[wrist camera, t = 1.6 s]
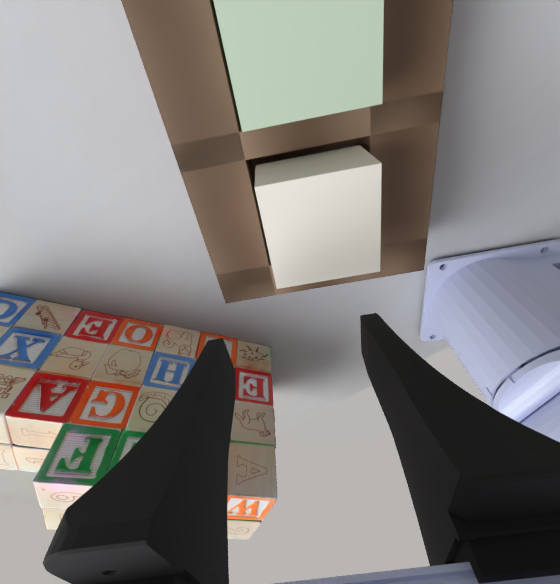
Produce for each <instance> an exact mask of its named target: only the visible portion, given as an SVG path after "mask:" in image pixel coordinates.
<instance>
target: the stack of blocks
mask: <svg viewBox="0 0 560 584" xmlns="http://www.w3.org/2000/svg"><path fill="white" fill-rule="evenodd" d="M219 338H223V340H224V342H225V345H226V348H227V350H228V353H229V355H230V358H231V361H232V363H233V366H234V368H235V371H236V396H235V405H234V413H233V422H232V430H231V438H230V446H229V457H228V498H227V528H228V539H249V538H250V537H251V535H252V534H253V533H254V532H255V530H256V529H257V528H258V526H259V525H260V524H261V522H262V520H263V519H264V518H265V516H266V515H267V514H268V512H269V511H270V509H271V508H272V506H273V505H274V503H275V502H276V500H277V481H276V460H275V448H276V438H275V417H274V408H273V389H272V376H271V373H272V365H271V347H269V346H264V345H260V344H255V343H250V342H245V341H241V340H237V339H234V338H230V337H225V336H220V335H215V334H210V333H205V332H200V331H196V330H192V329H186V328H182V327H177V326H172V325H166V324H165V325H160V324H157V323H151V322H146V321H141V320H135V319H130V318H122V317H118V316H113V315H109V314H104V313H98V312H94V311H89V310H82V309H81V308H77V307H72V306H67V305H62V304H57V303H52V302H47V301H42V300H36V299H33V298H28V297H23V296H18V295H12V294H7V293H2V292H0V469H8V470H22V471H28V472H38V473H37V475H36V477H35V478H34V480H33V483H34V486H35V490H36V494H37V497H38V501H39V505H40V507H42V511H43V513H44V519H45V525H46V529H51V530H57V528H58V526H59V523H60V521H61V519H62V517H63V515H64V513H65V511H66V509H67V508H68V507H69V506H70V505H71V504H73V503H74V502H75V501H76V500H77V499H79V498H80V497H81V496H82V495H83V494H84V493H85V492H87V491H88V490H89V489H90V488H91V487H92V486H94V485H95V484H96V483H97V482H98V481H99V480H100V479H101V478H102V477H103V476H105V475H106V474H107V473H108V472H109V471H110V470H111V469H112V468H113V467H114V466H115V465H116V464H117V463H118V462H119V461H120V460H121V459H122V458H123V457H124V456H125V455H126V454H127V453H128V452H129V451H130V450H131V449H132V448H133V446H134V445H135V444H136V443H137V442H138V441H139V440H140V439H141V438H142V437H143V435H144V434H145V433H146V432H147V431H148V430H149V428H150V427H151V426H152V425H153V424H154V422H155V421H156V420H157V419H158V417H159V416H160V415H161V413H162V412H163V411H164V409H165V408H166V407H167V405H168V404H169V403H170V401H171V400H172V398H173V397H174V395H175V394H176V392H177V391H178V389H179V388H180V386H181V385H182V383H183V382H184V380H185V378H186V377H187V375H188V374H189V372H190V370H191V369H192V367H193V365H194V364H195V362H196V360H197V358H198V357H199V355H200V353H201V351H202V350H203V348H204V346H205V344H206V343H207V341H208V340H213V339H219Z"/></svg>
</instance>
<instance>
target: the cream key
mask: <svg viewBox="0 0 560 584" xmlns="http://www.w3.org/2000/svg"><path fill="white" fill-rule="evenodd" d="M381 174H382V163H381V162H380V161H379V160H377V159H376V158H375V157H374V156H372V155H371V154H370V153H369V152H368V151H366V150H365V149H364V148H363V147H361V146H360V145H357V146H352V147H346V148H341V149H336V150H331V151H326V152H321V153H316V154H310V155H305V156H300V157H295V158H290V159H285V160H280V161H274V162H269V163H264V164H259V165H256V168H255V186H254V188H255V192H256V197H257V201H258V206H259V210H260V215H261V220H262V224H263V229H264V233H265V238H266V242H267V247H268V251H269V256H270V260H271V265H272V270H273V274H274V279H275V283H276V288H277V289H280V288H286V287H292V286H298V285H304V284H309V283H315V282H321V281H327V280H333V279H339V278H345V277H351V276H357V275H363V274H368V273H374V272H380V249H381Z"/></svg>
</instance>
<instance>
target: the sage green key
mask: <svg viewBox="0 0 560 584" xmlns="http://www.w3.org/2000/svg"><path fill="white" fill-rule="evenodd" d="M213 1H214V6H215V10H216V15H217V20H218V24H219V29H220V33H221V38H222V42H223V47H224V51H225V56H226V60H227V65H228V70H229V74H230V79H231V83H232V88H233V92H234V97H235V101H236V106H237V110H238V115H239V120H240V124H241V129H242V132H245V131H250V130H255V129H260V128H265V127H270V126H275V125H280V124H285V123H290V122H295V121H300V120H305V119H310V118H315V117H320V116H325V115H330V114H335V113H340V112H345V111H350V110H355V109H359V108H364V107H369V106H374V105H379V104H382V99H383V24H384V0H213Z"/></svg>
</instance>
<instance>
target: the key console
mask: <svg viewBox="0 0 560 584" xmlns="http://www.w3.org/2000/svg"><path fill="white" fill-rule="evenodd" d="M121 1H122V4H123V7H124V10H125V13H126V16H127V19H128V21H129V24H130V27H131V30H132V33H133V36H134V39H135V42H136V45H137V47H138V50H139V53H140V56H141V59H142V62H143V65H144V68H145V71H146V73H147V76H148V79H149V82H150V85H151V88H152V91H153V94H154V97H155V99H156V102H157V105H158V108H159V111H160V114H161V117H162V120H163V123H164V125H165V128H166V131H167V134H168V137H169V140H170V143H171V146H172V149H173V151H174V154H175V157H176V160H177V163H178V166H179V169H180V172H181V175H182V178H183V180H184V183H185V186H186V189H187V192H188V195H189V198H190V201H191V204H192V206H193V209H194V212H195V215H196V218H197V221H198V224H199V227H200V230H201V232H202V235H203V238H204V241H205V244H206V247H207V250H208V253H209V256H210V258H211V261H212V264H213V267H214V270H215V273H216V276H217V279H218V282H219V284H220V287H221V290H222V293H223V296H224V299H225V302H226V303H230V302H236V301H242V300H248V299H254V298H260V297H266V296H272V295H278V294H284V293H290V292H296V291H302V290H308V289H314V288H320V287H326V286H331V285H337V284H343V283H349V282H355V281H361V280H367V279H373V278H379V277H385V276H391V275H397V274H403V273H409V272H415V271H421V270H424V264H425V254H426V245H427V236H428V227H429V217H430V208H431V199H432V190H433V180H434V171H435V162H436V152H437V143H438V134H439V125H440V115H441V106H442V97H443V88H444V78H445V69H446V60H447V50H448V41H449V32H450V23H451V13H452V4H453V0H384V24H383V99H382V104H379V105H374V106H369V107H364V108H359V109H355V110H350V111H345V112H340V113H335V114H330V115H325V116H320V117H315V118H310V119H305V120H300V121H295V122H290V123H285V124H280V125H275V126H270V127H265V128H260V129H255V130H250V131H245V132H242V129H241V124H240V120H239V115H238V110H237V106H236V101H235V97H234V92H233V88H232V83H231V79H230V74H229V70H228V65H227V60H226V56H225V51H224V47H223V42H222V38H221V33H220V29H219V24H218V20H217V15H216V10H215V6H214V1H213V0H121ZM357 145H360V146H361V147H363V148H364V149H365V150H366V151H368V152H369V153H370V154H371V155H372V156H374V157H375V158H376V159H377V160H379V161H380V162H381V163H382V174H381V249H380V272H374V273H368V274H363V275H357V276H351V277H345V278H339V279H333V280H327V281H321V282H315V283H309V284H304V285H298V286H292V287H286V288H280V289H277V288H276V283H275V279H274V274H273V270H272V265H271V260H270V256H269V251H268V247H267V242H266V238H265V233H264V229H263V224H262V220H261V215H260V210H259V206H258V201H257V197H256V192H255V188H254V186H255V168H256V165H259V164H264V163H269V162H274V161H280V160H285V159H290V158H295V157H300V156H305V155H310V154H316V153H321V152H326V151H331V150H336V149H341V148H346V147H352V146H357Z"/></svg>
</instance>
